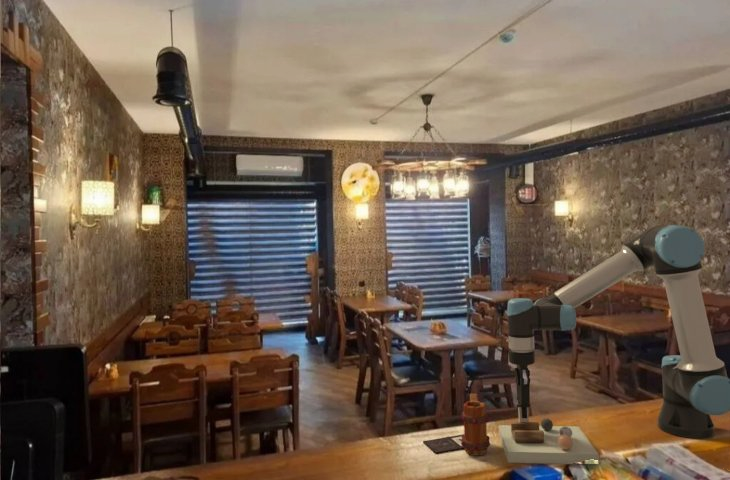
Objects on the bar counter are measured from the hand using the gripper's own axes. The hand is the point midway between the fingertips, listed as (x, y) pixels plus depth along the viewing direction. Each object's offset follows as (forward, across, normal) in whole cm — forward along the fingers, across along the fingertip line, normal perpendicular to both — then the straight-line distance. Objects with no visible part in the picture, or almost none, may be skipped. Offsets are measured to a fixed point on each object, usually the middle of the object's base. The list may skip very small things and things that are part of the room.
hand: (524, 427), depth 155 cm
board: (+4, +5, +5) cm, 8 cm away
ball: (0, +4, +11) cm, 12 cm away
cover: (+1, +5, 0) cm, 5 cm away
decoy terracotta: (-1, +12, +9) cm, 15 cm away
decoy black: (0, -2, +7) cm, 7 cm away
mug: (+5, +6, -15) cm, 17 cm away
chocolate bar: (+5, +2, -20) cm, 21 cm away
